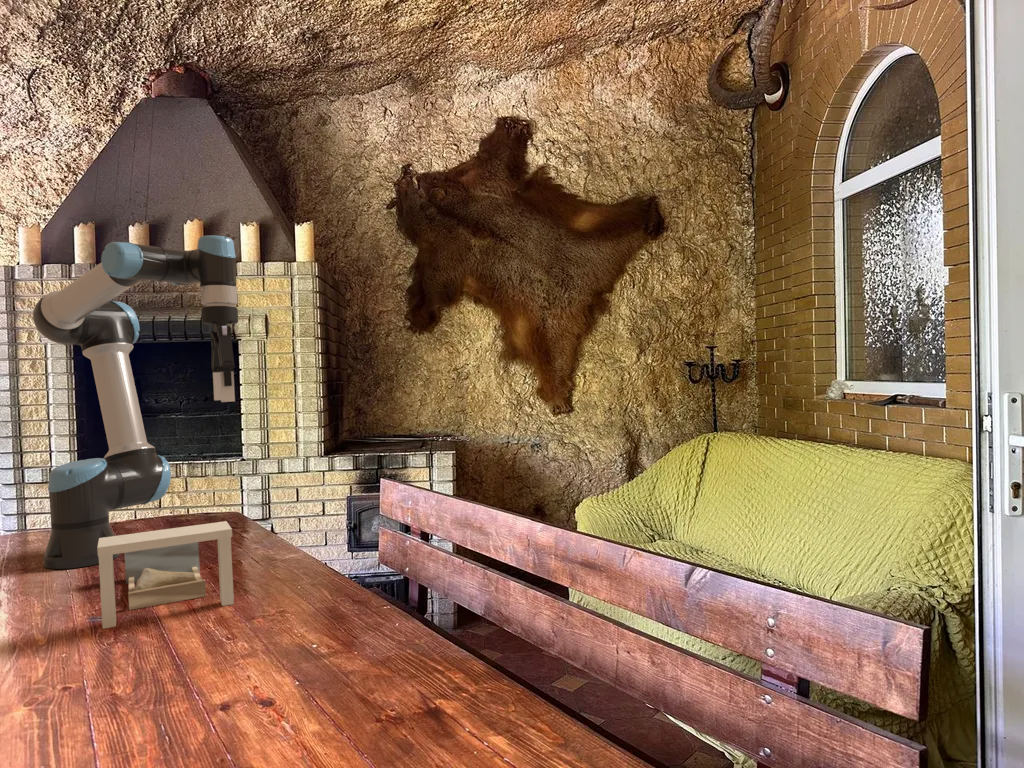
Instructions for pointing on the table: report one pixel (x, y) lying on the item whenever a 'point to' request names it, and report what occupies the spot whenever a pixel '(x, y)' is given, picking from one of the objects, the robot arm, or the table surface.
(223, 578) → the shelf
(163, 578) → the stone
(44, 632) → the table surface
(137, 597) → the rock display tray
